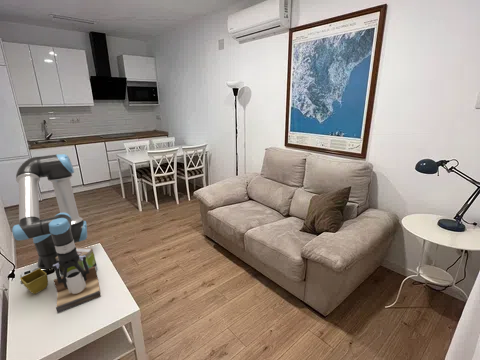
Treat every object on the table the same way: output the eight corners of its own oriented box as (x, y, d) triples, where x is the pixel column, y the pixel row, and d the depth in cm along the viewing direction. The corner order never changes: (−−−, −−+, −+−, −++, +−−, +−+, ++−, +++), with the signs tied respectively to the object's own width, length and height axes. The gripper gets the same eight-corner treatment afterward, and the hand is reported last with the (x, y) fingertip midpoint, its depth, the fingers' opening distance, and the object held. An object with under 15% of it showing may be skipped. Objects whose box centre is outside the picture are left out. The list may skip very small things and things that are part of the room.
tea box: (98, 269, 144) (93, 247, 140) (86, 281, 135) (80, 259, 130) (74, 268, 146) (68, 246, 141) (61, 280, 137) (54, 257, 132)
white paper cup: (88, 287, 126) (83, 271, 123) (74, 296, 121) (69, 279, 118) (81, 282, 130) (76, 267, 126) (67, 291, 124) (62, 275, 121)
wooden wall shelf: (58, 293, 127) (53, 279, 124) (98, 279, 136) (94, 266, 133) (57, 313, 116) (52, 298, 113) (100, 296, 125) (97, 282, 122)
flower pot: (32, 298, 124) (26, 284, 121) (24, 291, 129) (19, 277, 126) (51, 287, 131) (47, 273, 128) (44, 281, 136) (39, 268, 133)
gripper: (41, 261, 110) (55, 301, 118) (89, 247, 119) (99, 285, 127) (42, 252, 116) (55, 291, 124) (88, 239, 125) (98, 276, 133)
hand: (77, 288), depth 125 cm, fingers closed on white paper cup, 6 cm apart
